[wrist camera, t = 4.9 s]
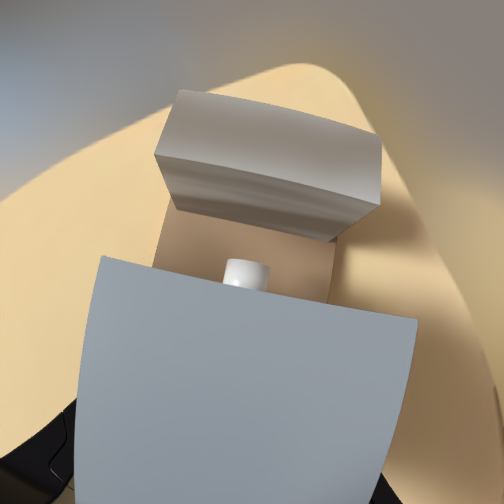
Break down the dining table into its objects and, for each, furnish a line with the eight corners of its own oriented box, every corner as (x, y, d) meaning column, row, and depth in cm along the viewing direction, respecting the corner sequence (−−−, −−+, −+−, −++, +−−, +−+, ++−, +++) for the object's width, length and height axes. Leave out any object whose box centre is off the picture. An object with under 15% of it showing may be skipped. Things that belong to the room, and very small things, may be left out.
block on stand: (284, 467, 14) (317, 539, 8) (127, 438, 14) (80, 498, 7) (335, 199, 18) (392, 140, 11) (184, 165, 17) (167, 87, 10)
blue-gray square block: (295, 417, 14) (399, 546, 3) (165, 394, 13) (76, 520, 3) (320, 291, 15) (477, 248, 5) (191, 264, 15) (129, 163, 4)
